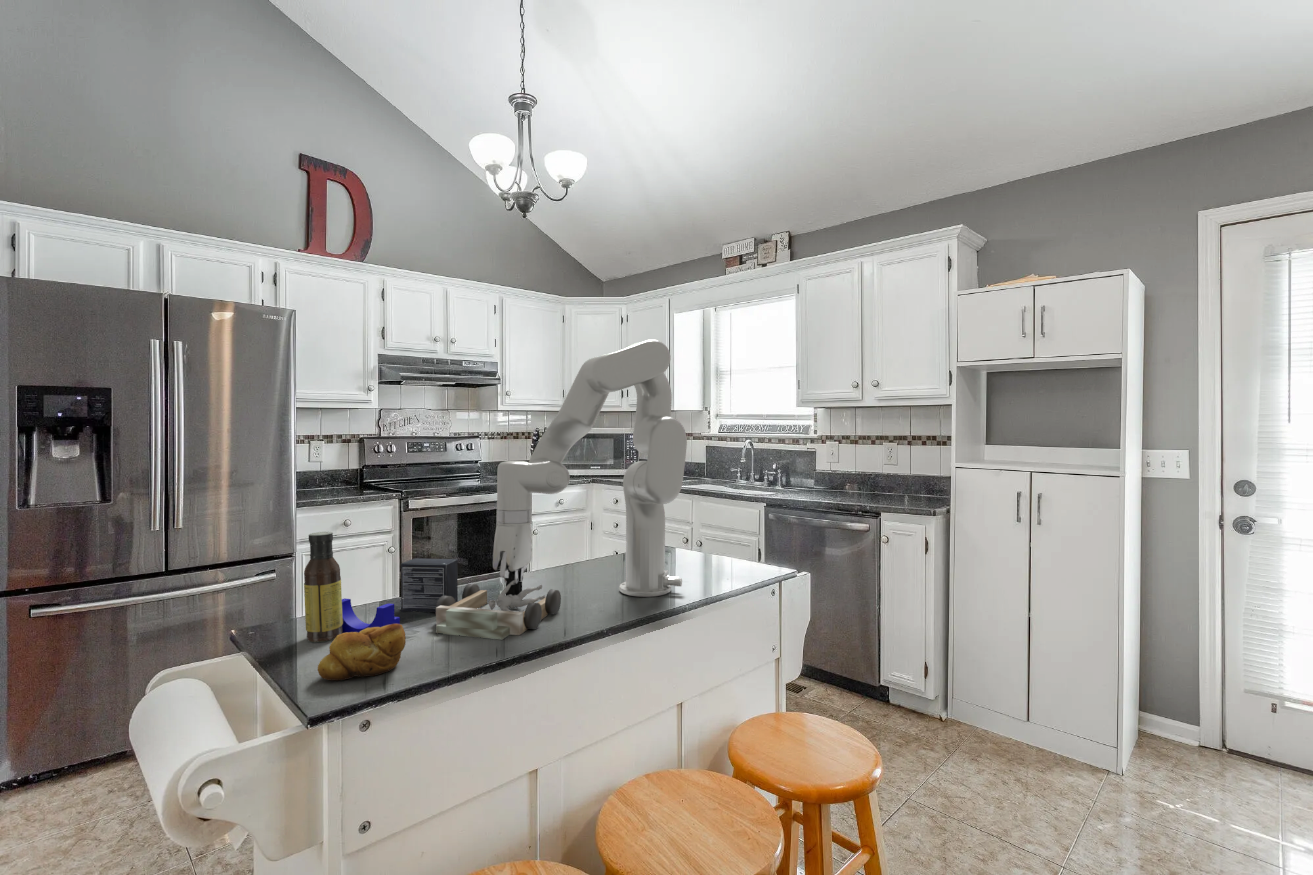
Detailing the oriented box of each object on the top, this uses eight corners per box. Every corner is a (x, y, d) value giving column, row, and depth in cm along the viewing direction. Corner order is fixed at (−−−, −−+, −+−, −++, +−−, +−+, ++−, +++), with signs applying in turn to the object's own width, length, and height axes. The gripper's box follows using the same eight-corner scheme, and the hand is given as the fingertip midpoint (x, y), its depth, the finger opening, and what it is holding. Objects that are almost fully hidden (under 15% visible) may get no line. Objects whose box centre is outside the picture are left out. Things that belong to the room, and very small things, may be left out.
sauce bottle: (346, 631, 123) (345, 529, 122) (338, 641, 117) (337, 535, 116) (309, 633, 121) (309, 530, 121) (299, 644, 115) (299, 536, 115)
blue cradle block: (399, 632, 123) (399, 601, 123) (383, 640, 119) (383, 608, 118) (350, 626, 127) (350, 596, 126) (332, 633, 122) (332, 602, 122)
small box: (459, 604, 141) (459, 558, 141) (446, 613, 135) (446, 564, 135) (414, 603, 142) (414, 556, 142) (399, 611, 136) (399, 563, 136)
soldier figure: (550, 609, 137) (503, 614, 129) (537, 619, 140) (491, 624, 131) (540, 577, 141) (494, 579, 132) (528, 586, 143) (482, 589, 135)
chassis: (561, 609, 137) (561, 587, 137) (519, 641, 118) (519, 614, 117) (475, 602, 143) (475, 580, 142) (420, 631, 123) (420, 606, 123)
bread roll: (320, 691, 96) (320, 639, 95) (313, 670, 104) (313, 622, 103) (409, 673, 103) (409, 624, 103) (396, 654, 111) (396, 609, 111)
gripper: (515, 511, 147) (514, 589, 148) (481, 521, 133) (480, 607, 133) (544, 513, 145) (543, 592, 146) (513, 522, 131) (513, 610, 131)
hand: (513, 599), depth 139 cm, fingers closed
